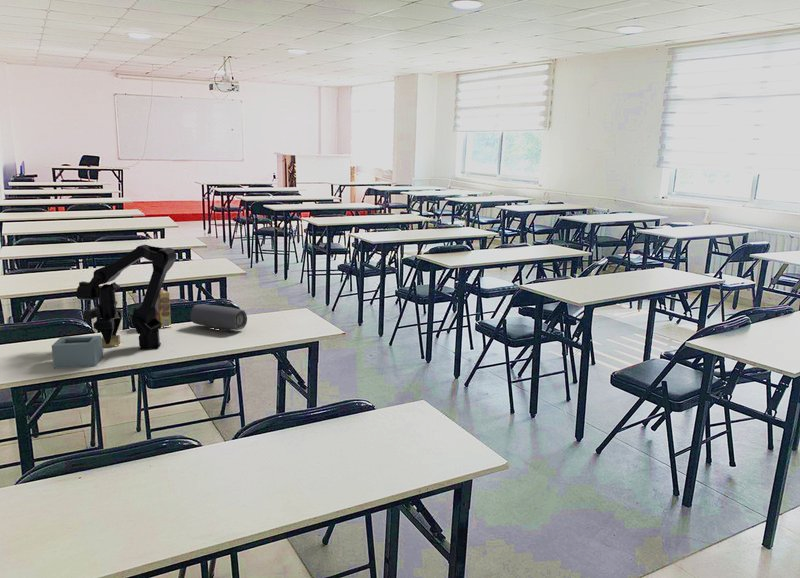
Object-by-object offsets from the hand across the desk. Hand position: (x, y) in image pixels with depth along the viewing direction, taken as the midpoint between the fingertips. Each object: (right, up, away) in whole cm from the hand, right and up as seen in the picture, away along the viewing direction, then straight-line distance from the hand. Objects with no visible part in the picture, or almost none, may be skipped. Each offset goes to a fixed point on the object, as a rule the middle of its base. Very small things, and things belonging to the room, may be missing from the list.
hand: (110, 340), depth 229 cm
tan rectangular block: (0, -2, 0) cm, 2 cm away
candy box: (+9, +4, +27) cm, 29 cm away
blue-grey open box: (-2, -6, -19) cm, 20 cm away
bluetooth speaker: (+34, +2, +24) cm, 42 cm away
